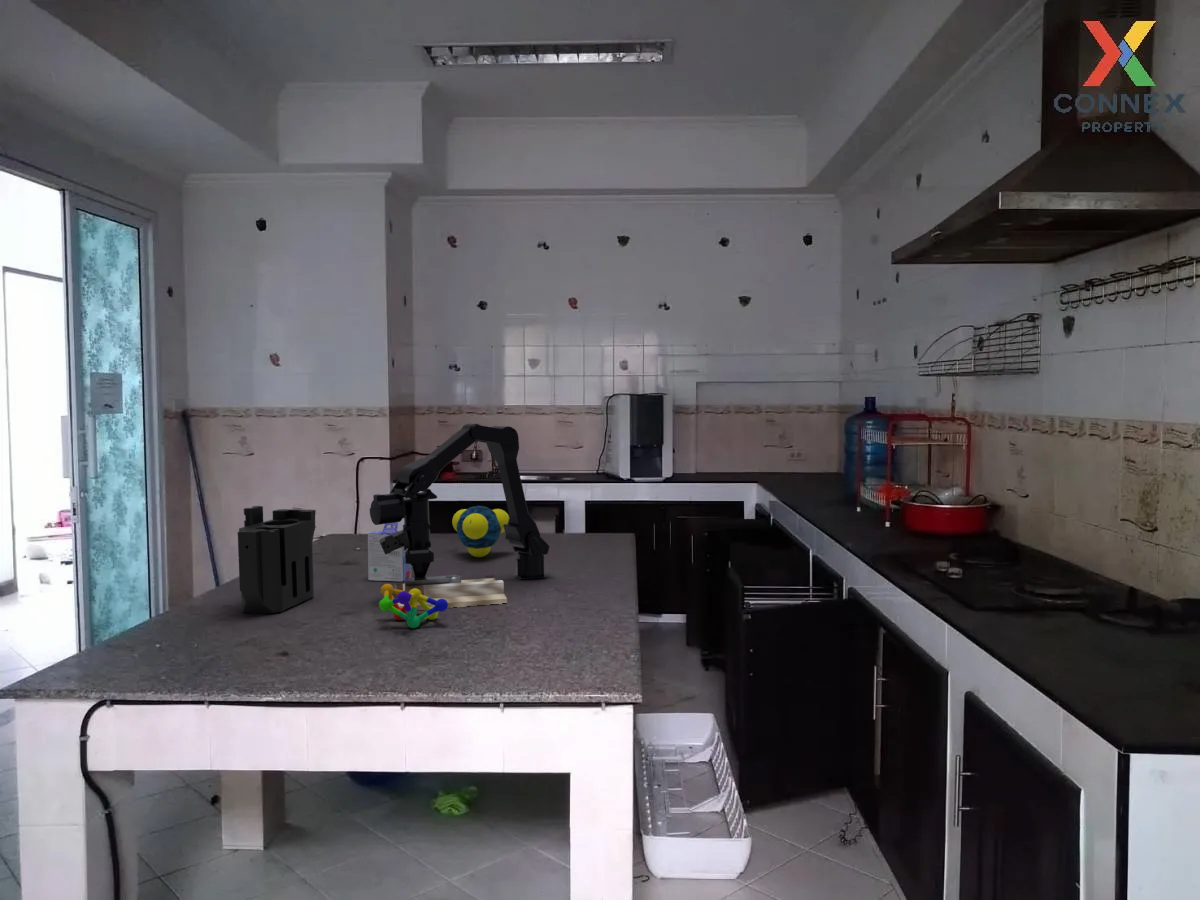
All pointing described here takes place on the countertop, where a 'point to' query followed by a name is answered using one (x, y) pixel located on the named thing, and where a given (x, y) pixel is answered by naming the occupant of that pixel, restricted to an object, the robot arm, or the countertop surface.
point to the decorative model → (409, 600)
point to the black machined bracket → (276, 559)
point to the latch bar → (432, 580)
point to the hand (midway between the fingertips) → (419, 585)
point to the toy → (479, 528)
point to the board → (467, 598)
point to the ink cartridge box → (386, 558)
